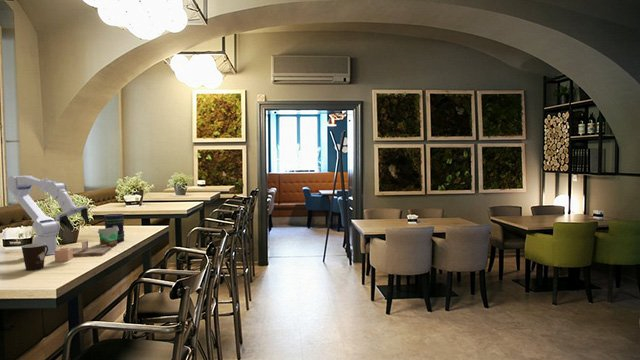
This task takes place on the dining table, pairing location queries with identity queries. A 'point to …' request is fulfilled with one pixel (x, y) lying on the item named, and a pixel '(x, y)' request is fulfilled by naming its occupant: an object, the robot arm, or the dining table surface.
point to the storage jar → (115, 224)
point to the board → (90, 251)
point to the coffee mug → (34, 256)
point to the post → (84, 245)
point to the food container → (108, 236)
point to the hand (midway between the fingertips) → (80, 226)
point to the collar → (63, 254)
